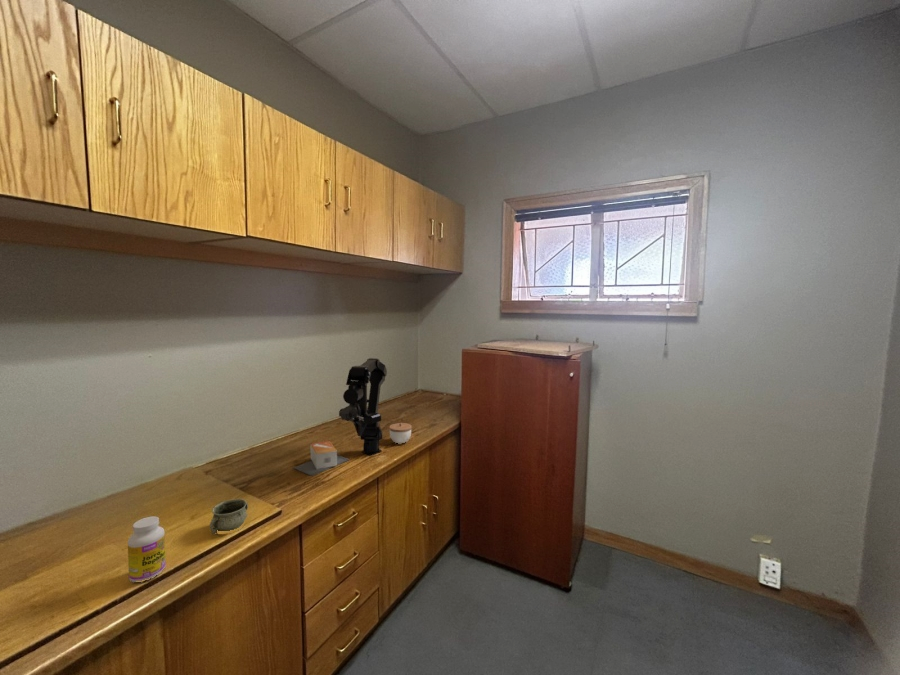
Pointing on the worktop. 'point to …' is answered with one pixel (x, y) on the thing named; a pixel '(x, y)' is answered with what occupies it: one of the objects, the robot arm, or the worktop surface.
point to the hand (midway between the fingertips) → (359, 436)
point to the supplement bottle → (146, 549)
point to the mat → (311, 469)
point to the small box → (323, 455)
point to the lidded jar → (400, 432)
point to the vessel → (228, 515)
